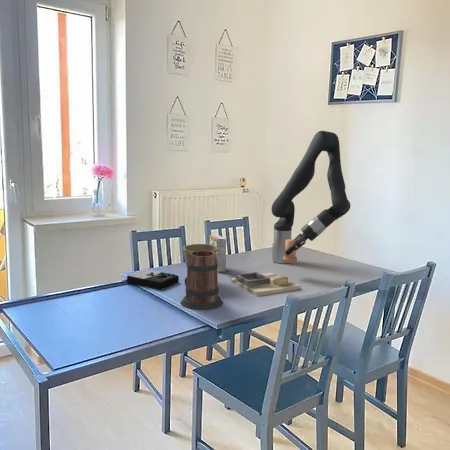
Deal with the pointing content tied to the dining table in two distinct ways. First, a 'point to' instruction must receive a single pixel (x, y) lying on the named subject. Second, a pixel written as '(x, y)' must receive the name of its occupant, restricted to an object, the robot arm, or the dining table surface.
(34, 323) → the dining table surface
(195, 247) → the plant pot
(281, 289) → the carrier plate
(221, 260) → the candy bar box
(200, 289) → the tankard
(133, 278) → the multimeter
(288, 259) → the orange flanged cylinder
